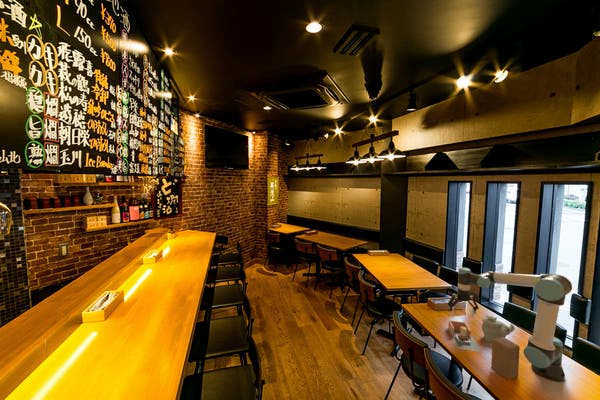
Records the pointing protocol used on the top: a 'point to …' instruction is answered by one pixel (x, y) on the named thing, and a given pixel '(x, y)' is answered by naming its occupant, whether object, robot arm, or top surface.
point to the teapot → (495, 328)
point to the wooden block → (505, 357)
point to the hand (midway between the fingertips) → (462, 316)
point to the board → (472, 347)
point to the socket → (462, 340)
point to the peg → (462, 333)
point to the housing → (458, 327)
